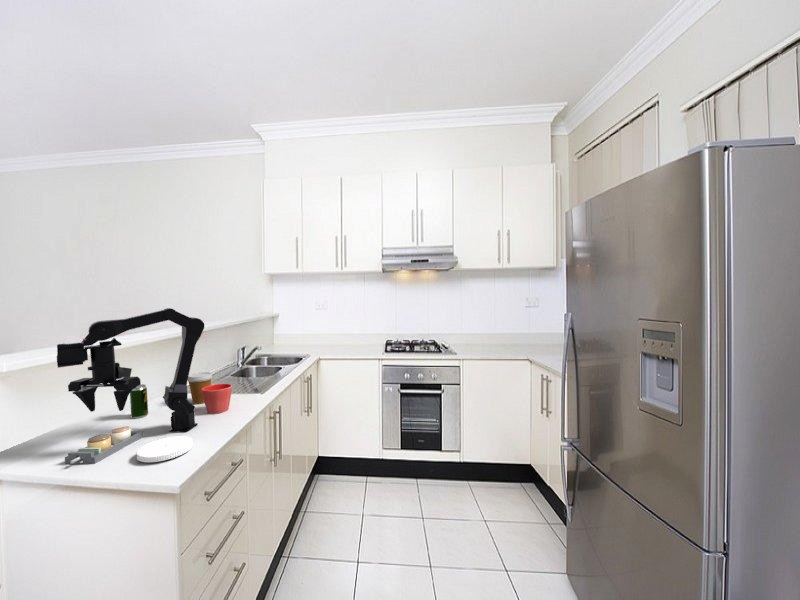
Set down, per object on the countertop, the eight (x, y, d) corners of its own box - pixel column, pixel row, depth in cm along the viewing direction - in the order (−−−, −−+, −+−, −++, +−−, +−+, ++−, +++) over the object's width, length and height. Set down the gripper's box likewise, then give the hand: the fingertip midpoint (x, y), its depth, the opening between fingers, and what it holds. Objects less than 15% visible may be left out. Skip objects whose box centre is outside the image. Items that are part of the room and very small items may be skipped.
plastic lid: (124, 464, 101) (123, 455, 101) (164, 442, 114) (164, 435, 114) (167, 467, 98) (167, 458, 98) (203, 444, 112) (202, 437, 112)
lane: (143, 436, 119) (143, 427, 119) (94, 463, 101) (94, 453, 101) (118, 436, 119) (117, 427, 119) (65, 463, 101) (64, 453, 101)
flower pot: (212, 406, 148) (211, 383, 148) (237, 405, 148) (236, 383, 148) (196, 415, 138) (195, 391, 137) (224, 415, 137) (223, 390, 137)
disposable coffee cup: (205, 405, 150) (204, 377, 149) (183, 405, 150) (182, 377, 149) (217, 398, 159) (216, 371, 159) (196, 398, 159) (195, 372, 159)
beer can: (130, 420, 135) (128, 389, 134) (131, 416, 139) (130, 385, 138) (148, 417, 137) (146, 386, 137) (148, 413, 142) (146, 383, 141)
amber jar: (100, 457, 105) (99, 441, 104) (82, 457, 105) (81, 441, 105) (116, 449, 110) (115, 433, 110) (99, 449, 110) (98, 433, 110)
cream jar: (131, 436, 119) (130, 425, 119) (131, 440, 115) (130, 428, 115) (112, 441, 116) (111, 429, 116) (111, 445, 112) (110, 433, 112)
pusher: (101, 456, 104) (100, 447, 104) (82, 466, 99) (81, 457, 98) (81, 456, 105) (80, 447, 105) (61, 466, 99) (60, 457, 99)
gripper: (151, 355, 118) (154, 401, 118) (97, 356, 118) (100, 402, 119) (124, 363, 106) (128, 413, 107) (64, 364, 107) (68, 415, 108)
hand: (107, 410), depth 111 cm, fingers open, 9 cm apart
